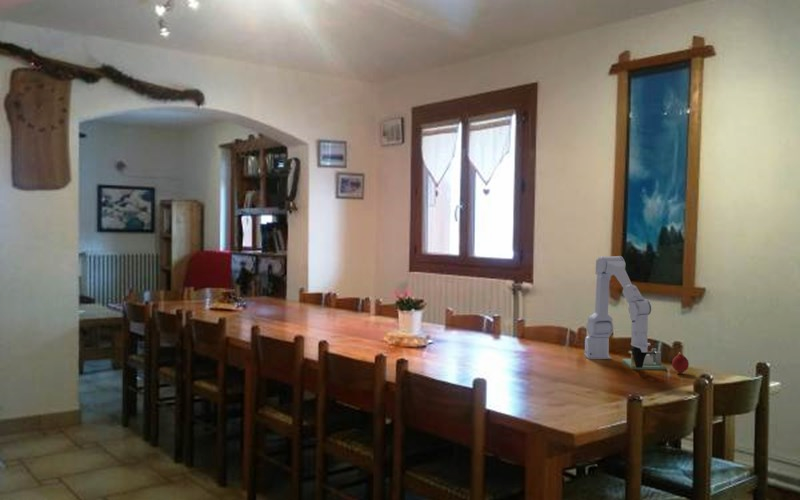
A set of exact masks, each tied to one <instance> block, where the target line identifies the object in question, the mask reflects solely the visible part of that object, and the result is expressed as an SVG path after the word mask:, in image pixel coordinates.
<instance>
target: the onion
mask: <svg viewBox="0 0 800 500" xmlns="http://www.w3.org/2000/svg"><path fill="white" fill-rule="evenodd" d="M689 364H690V363H689V360H688V359H687V357H686V356H684V354H683V353H681V352H680V351H679V352H678V354H677V355H676V356H674V358H673V359H672V362H671V365H672V368H673V369H674V371H676V372H677V374H683V373H685V372H686V371H687V370H688V369H689Z"/></svg>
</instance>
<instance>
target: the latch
mask: <svg viewBox="0 0 800 500" xmlns="http://www.w3.org/2000/svg"><path fill="white" fill-rule="evenodd" d="M628 351H629V353H630V359H631V366H632V367H636V366H635V361H634V357H633V353H632V351H631V350H628ZM629 353H628V354H629Z"/></svg>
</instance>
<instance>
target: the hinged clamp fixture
mask: <svg viewBox="0 0 800 500" xmlns="http://www.w3.org/2000/svg"><path fill="white" fill-rule="evenodd" d="M651 351H656V354H647V355H646V356H645V359H644V363H643V366H642V368H637V367H632V366H631V358H622V359H621V362H622V363H623V364H625V365H626V366H627V367H628V368H629V367H630V368H631V369H630V370H660V371H661V370H666V366H665V365H663V364H662V351H657V348H651Z"/></svg>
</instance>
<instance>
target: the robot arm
mask: <svg viewBox="0 0 800 500" xmlns="http://www.w3.org/2000/svg"><path fill="white" fill-rule="evenodd" d="M595 274H596V283H595V284H596V286H595V287H596V288H595V302H594V312H593V313H592V314H591V315H589V317H587V323H586V325H585V328H586V332H587V333H588V335H587V336H585V338H584V356H585V357H586V358H587V359H588V360H592V359H593V360H596V359H597V360H601V359H602V360H611V359H612V357H611V356H610V355H609V354H610V353H609V343H610V342H609V340H610V339H609V338H610V337H611V335H612V334H613V332H614V323H613V317H612V316H610V315H609V299H610V298H609V297H610V294H609V293H610V281H611V279H610V278H611V277H612V276H614V277H615V278H616V280H617V281H618V282H619V284H620V285H621V287H622V288H623V289H622V295H623V296H624V298H625V300H626V302H627V303H628V313H629V314H630V315H629V316H630V317H629V318H630V321H631V338H630V339H631V340H630V341H631V342H630V345H631V348H630V349H629V350H630V351H632V353H633V357H634V361H635V366H636V367H637V368H642V366H643V363H644V359H645V356H646V355H647V353H648V351H649V350H648V347H650V346H651V343H650V342H648V326H649V325H648V324H649V323H648V321H649V319H648V318H649V315H650V314H651V312H652V305H651V301H649V300H648V299H646V298H644V296H642V294H641V292H640V290H639V289H638V287H637V285H635V284H632V282H631V279H630V277H629V275H628V273H627V270H626V261H625V259H624V257H623V256H621V255H617V256H616V255H614V256H613V255H612V256H601V255H600V256H599V257H598V258H597V259H596V260H595Z"/></svg>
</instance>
